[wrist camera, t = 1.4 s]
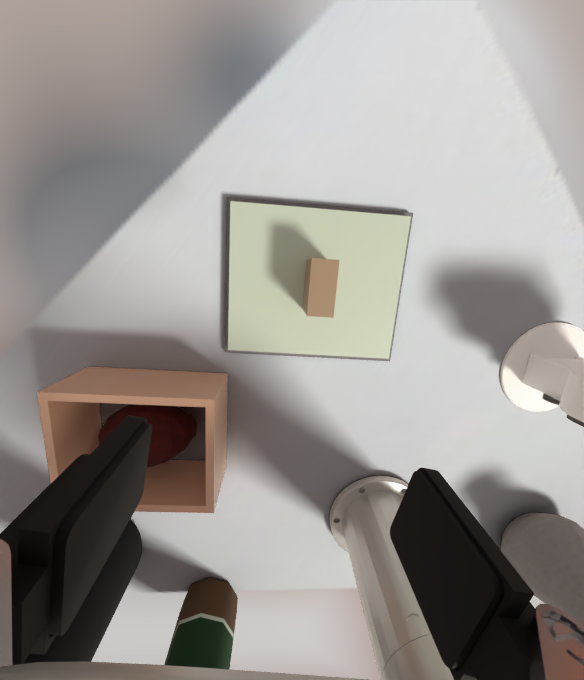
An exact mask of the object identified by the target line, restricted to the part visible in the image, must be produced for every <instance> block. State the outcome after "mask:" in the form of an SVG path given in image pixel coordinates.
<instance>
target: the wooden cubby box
mask: <svg viewBox="0 0 584 680" xmlns="http://www.w3.org/2000/svg"><path fill="white" fill-rule="evenodd" d="M227 394H228V373H213V372H192V371H172V370H152V369H131V368H111V367H90V366H89V367H87V368H85V369H83V370H80V371H78V372H76V373H74V374H72V375H70V376H68V377H66V378H64V379H62V380H60V381H58V382H56V383H54V384H52V385H50V386H48V387H46V388H44V389H42V390H40V391H38V392H37V398H38V404H39V411H40V417H41V424H42V430H43V437H44V443H45V450H46V456H47V463H48V469H49V476H50V483H52V482H53V481H54V480H55V479H56V478H57V477H58V476H59V475H60V474H61V473H62V472H63V471H64V470H65V469H66V468H67V467H68V466H69V465H70V464H71V463H72V462H73V461H74V460H75V459H76V458H78V457H79V456H80V455H82V454H89V455H90V454H91V453H92V452H93V451H94V450H95V449H96V448H97V447H98V446H99V440H98V436H99V433H100V430H101V428H102V422H101V412H100V403H114V404H138V405H162V406H186V407H205V413H206V461H198V460H168V461H167V462H165V463H162V464H159V465H156V466H153V467H147V469H146V476H145V483H144V490H143V494H142V497H141V500H140V502H139V504H138V506H137V508H136V509H135V511H146V512H196V513H214V510H215V506H216V503H217V499H218V495H219V492H220V488H221V484H222V481H223V477H224V473H225V470H226V454H227Z"/></svg>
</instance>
